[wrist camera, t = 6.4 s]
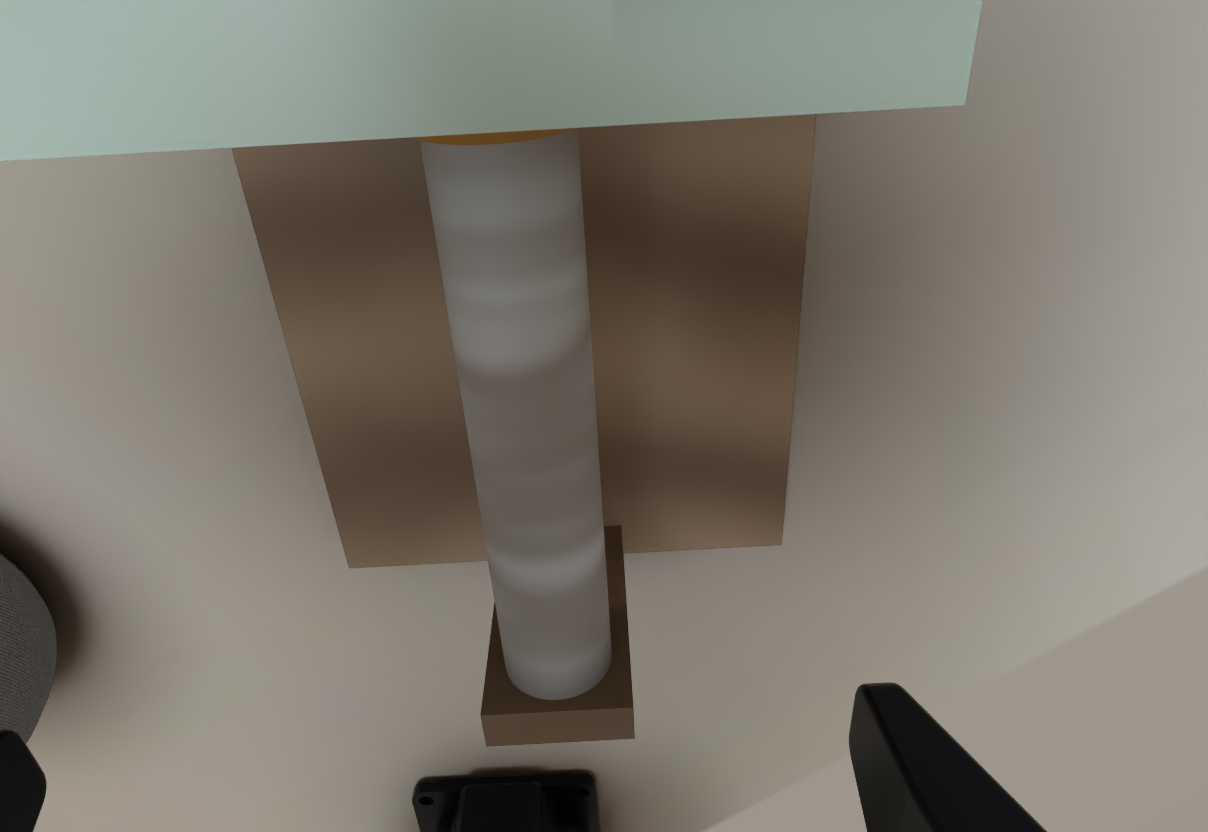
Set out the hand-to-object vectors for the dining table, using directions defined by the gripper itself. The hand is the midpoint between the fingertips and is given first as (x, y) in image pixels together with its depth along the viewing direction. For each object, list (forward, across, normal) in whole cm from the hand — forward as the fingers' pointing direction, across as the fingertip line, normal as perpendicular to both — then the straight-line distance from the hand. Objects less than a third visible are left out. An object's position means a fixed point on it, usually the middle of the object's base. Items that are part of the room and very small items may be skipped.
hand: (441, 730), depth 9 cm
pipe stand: (+13, -1, -1) cm, 13 cm away
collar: (+11, -1, -6) cm, 12 cm away
